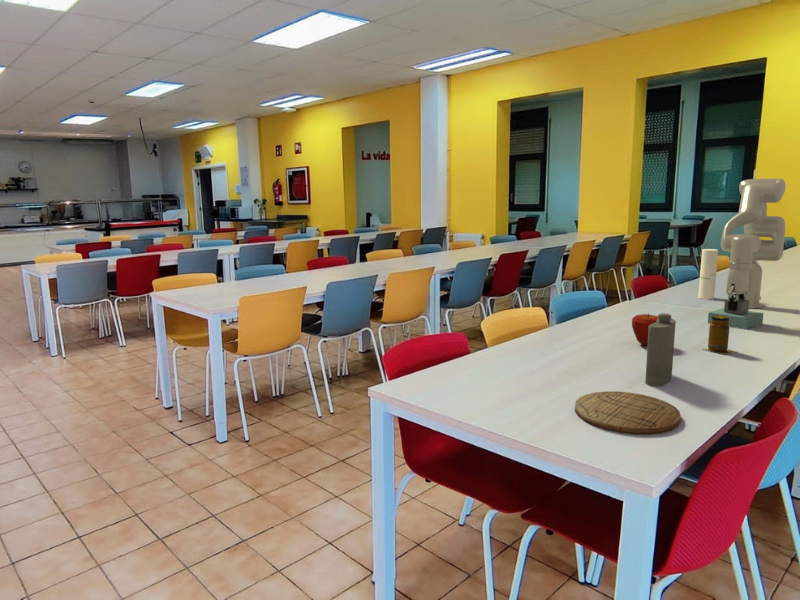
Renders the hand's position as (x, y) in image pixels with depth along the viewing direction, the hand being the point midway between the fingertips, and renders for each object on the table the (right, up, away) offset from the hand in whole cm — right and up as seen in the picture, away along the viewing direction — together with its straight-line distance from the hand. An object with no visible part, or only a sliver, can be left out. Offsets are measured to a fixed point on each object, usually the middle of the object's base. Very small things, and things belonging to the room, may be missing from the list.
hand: (736, 308), depth 234 cm
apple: (-50, -13, -28) cm, 59 cm away
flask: (-62, -20, -65) cm, 92 cm away
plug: (0, -5, +1) cm, 5 cm away
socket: (0, -6, +1) cm, 6 cm away
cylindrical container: (+17, +4, +55) cm, 57 cm away
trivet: (-82, -26, -90) cm, 125 cm away
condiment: (-28, -14, -37) cm, 49 cm away
